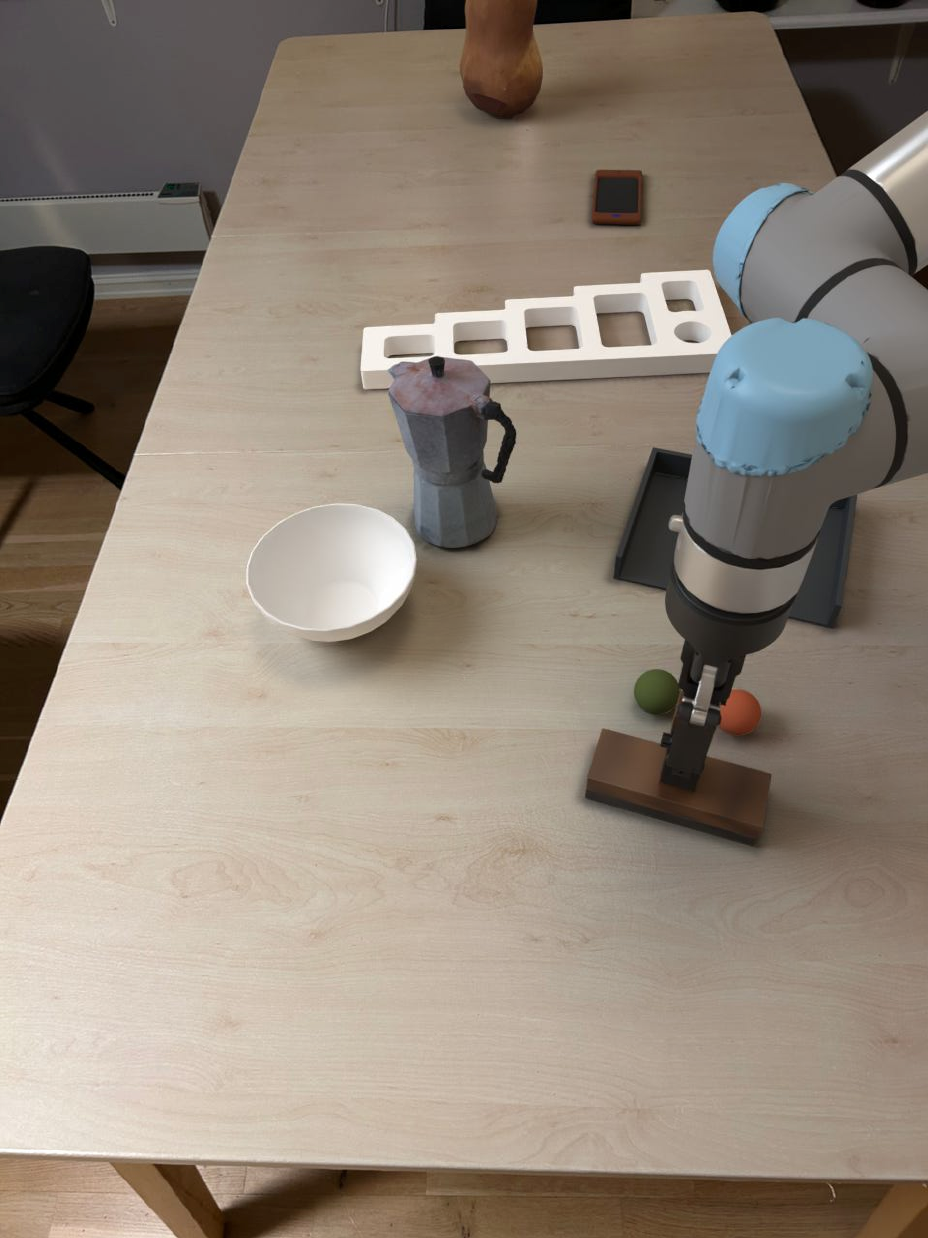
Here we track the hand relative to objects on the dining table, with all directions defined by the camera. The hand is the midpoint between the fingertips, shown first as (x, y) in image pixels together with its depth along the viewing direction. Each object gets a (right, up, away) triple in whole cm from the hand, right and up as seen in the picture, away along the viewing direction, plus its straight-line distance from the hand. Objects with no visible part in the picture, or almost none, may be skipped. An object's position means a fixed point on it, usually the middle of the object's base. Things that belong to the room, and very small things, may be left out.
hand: (681, 766), depth 74 cm
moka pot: (-18, +22, +25) cm, 38 cm away
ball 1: (0, +5, +8) cm, 10 cm away
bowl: (-29, +12, +18) cm, 37 cm away
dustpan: (+12, +23, +24) cm, 36 cm away
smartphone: (+6, +74, +65) cm, 99 cm away
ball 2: (+6, +4, +6) cm, 10 cm away
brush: (0, -3, +4) cm, 5 cm away
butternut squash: (-11, +98, +86) cm, 131 cm away
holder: (-7, +48, +45) cm, 66 cm away
